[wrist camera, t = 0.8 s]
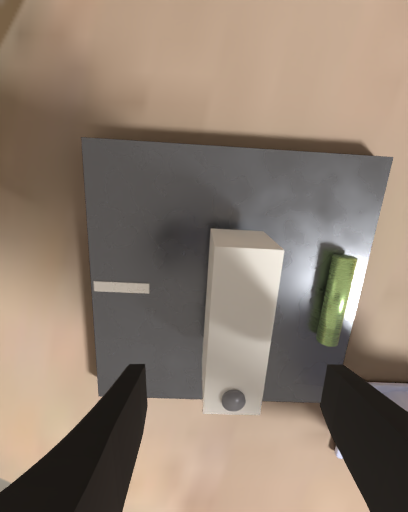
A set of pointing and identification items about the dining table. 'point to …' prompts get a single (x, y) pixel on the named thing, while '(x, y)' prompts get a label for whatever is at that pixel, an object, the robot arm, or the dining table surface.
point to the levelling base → (197, 254)
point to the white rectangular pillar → (239, 319)
